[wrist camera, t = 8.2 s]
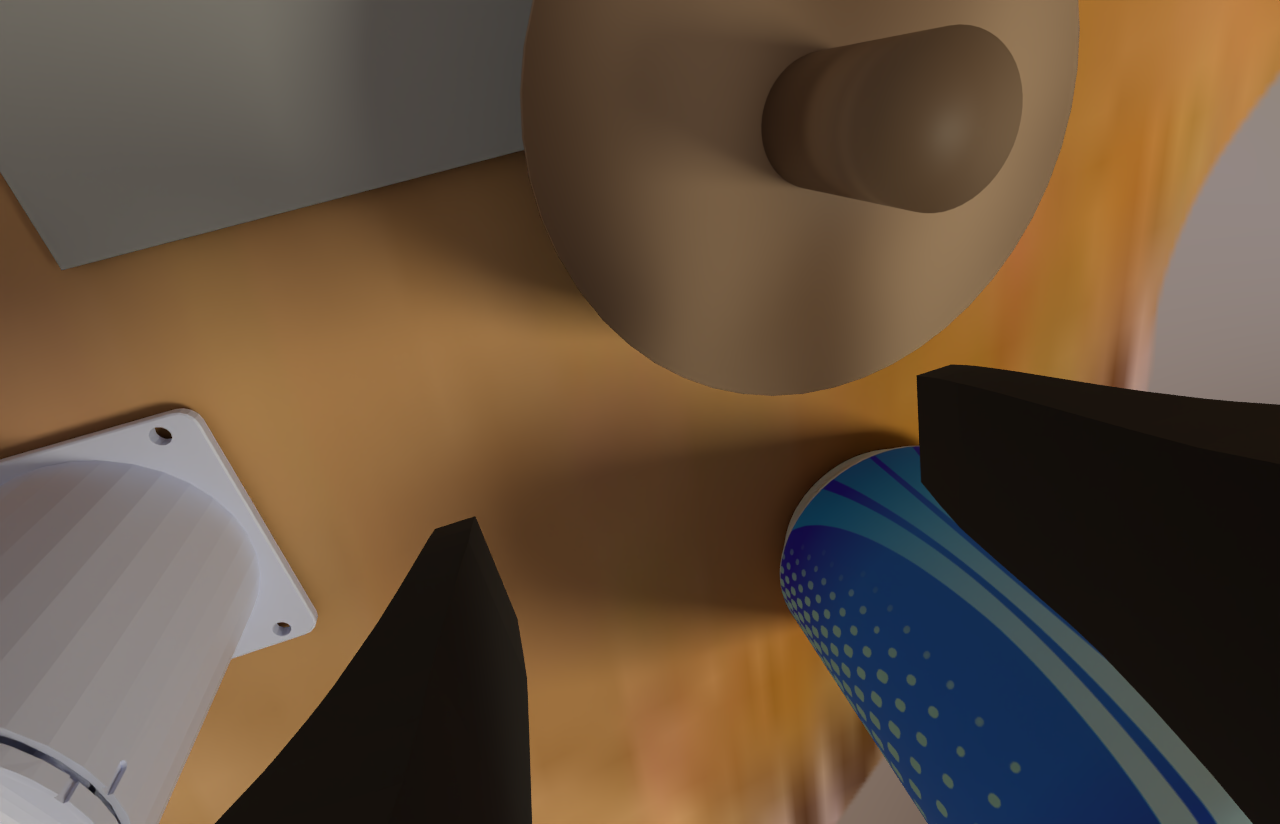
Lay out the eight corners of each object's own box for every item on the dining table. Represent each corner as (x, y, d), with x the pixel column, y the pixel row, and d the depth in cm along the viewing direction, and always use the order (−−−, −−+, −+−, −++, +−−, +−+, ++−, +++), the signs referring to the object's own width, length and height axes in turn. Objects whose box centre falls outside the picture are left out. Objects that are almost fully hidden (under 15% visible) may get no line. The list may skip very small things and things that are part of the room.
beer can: (742, 481, 23) (1177, 1061, 9) (958, 395, 24) (1680, 807, 10) (788, 647, 27) (1145, 1241, 13) (973, 569, 28) (1509, 1050, 13)
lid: (627, 453, 16) (683, 570, 12) (411, -134, 11) (374, -292, 7) (1053, 285, 17) (1243, 339, 13) (1044, -332, 12) (1360, -579, 8)
